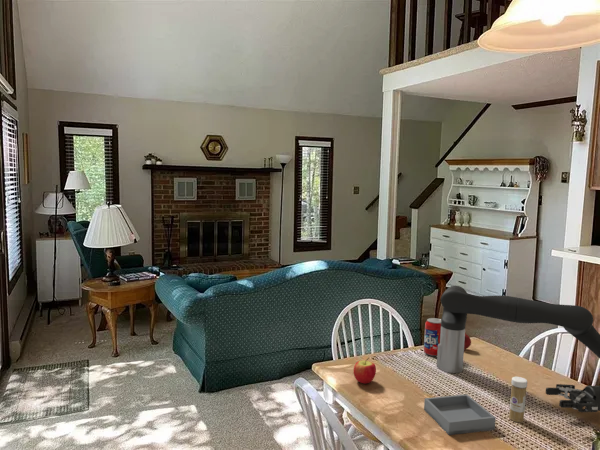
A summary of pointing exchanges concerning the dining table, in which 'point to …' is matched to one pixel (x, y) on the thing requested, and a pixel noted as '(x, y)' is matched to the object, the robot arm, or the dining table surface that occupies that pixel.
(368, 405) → the dining table surface
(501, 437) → the dining table surface
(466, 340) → the onion
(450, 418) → the bin
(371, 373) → the apple
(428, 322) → the soda can
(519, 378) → the sprinkles bottle
